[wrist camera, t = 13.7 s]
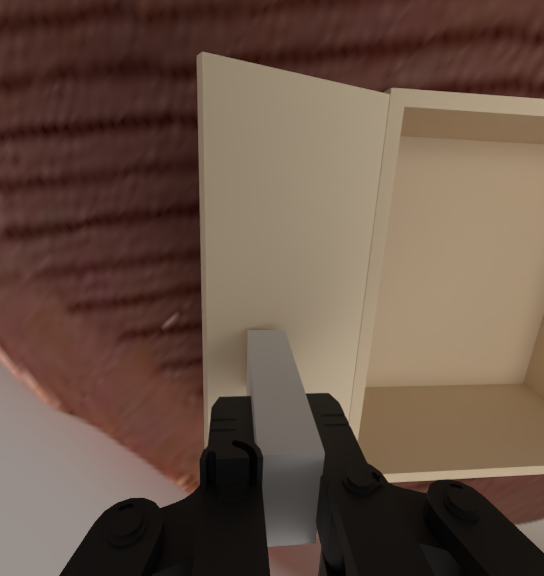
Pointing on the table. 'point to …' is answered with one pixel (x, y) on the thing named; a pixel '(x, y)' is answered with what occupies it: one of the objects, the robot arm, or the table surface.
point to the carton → (455, 291)
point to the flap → (284, 219)
